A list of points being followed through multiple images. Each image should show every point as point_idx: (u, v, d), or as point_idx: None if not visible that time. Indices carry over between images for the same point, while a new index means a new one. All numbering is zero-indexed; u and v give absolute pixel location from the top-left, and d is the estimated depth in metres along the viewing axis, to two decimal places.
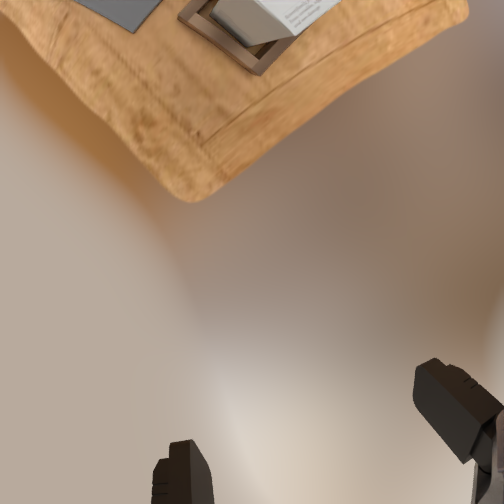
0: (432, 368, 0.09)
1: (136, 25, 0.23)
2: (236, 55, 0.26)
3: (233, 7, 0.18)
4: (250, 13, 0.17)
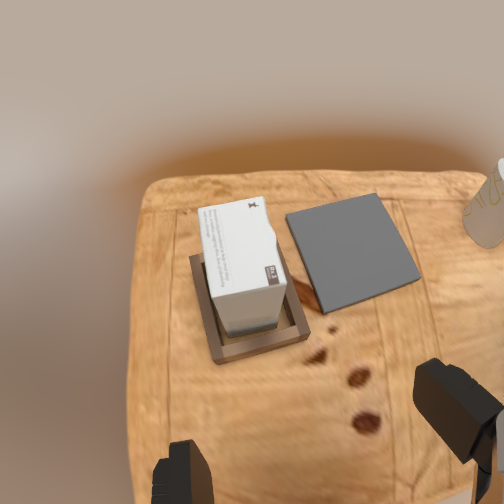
0: (432, 368, 0.09)
1: (289, 219, 0.41)
2: None
3: None
4: None
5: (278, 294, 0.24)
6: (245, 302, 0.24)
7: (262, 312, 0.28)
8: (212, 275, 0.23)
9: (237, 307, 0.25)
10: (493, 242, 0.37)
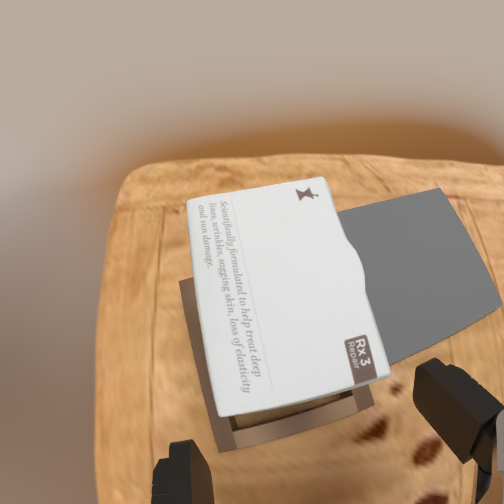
0: (432, 368, 0.09)
1: None
2: None
3: None
4: None
5: None
6: None
7: None
8: (220, 363, 0.09)
9: None
10: None
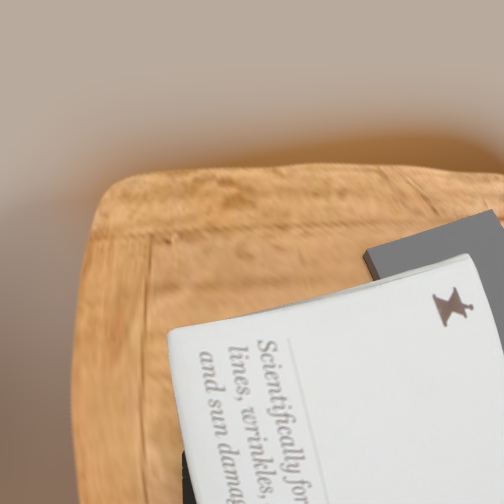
0: None
1: (374, 259, 0.20)
2: None
3: None
4: None
5: None
6: None
7: None
8: None
9: None
10: None
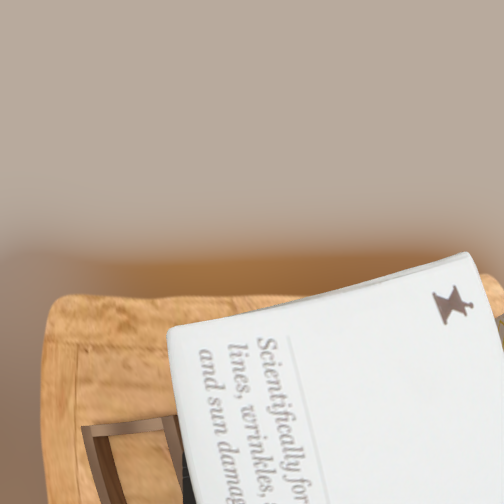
0: None
1: None
2: (106, 425, 0.25)
3: None
4: None
5: None
6: None
7: None
8: None
9: None
10: None
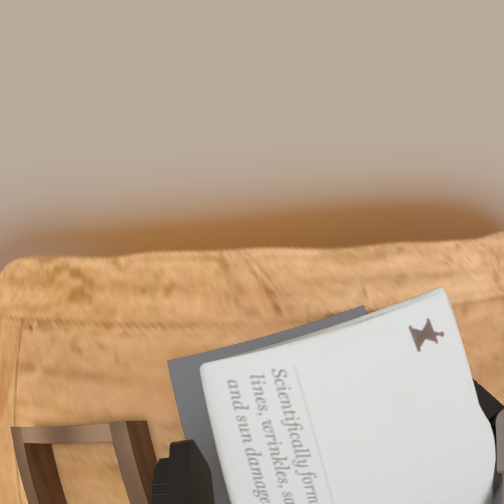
0: None
1: (172, 372, 0.19)
2: (39, 428, 0.15)
3: None
4: None
5: None
6: None
7: None
8: None
9: None
10: None
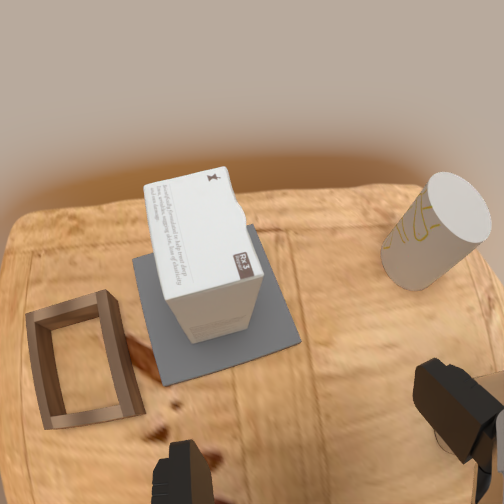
0: (432, 368, 0.09)
1: (134, 265, 0.33)
2: (47, 308, 0.27)
3: None
4: None
5: (252, 290, 0.19)
6: (209, 302, 0.18)
7: (231, 313, 0.22)
8: (164, 270, 0.17)
9: (200, 309, 0.19)
10: (422, 284, 0.32)
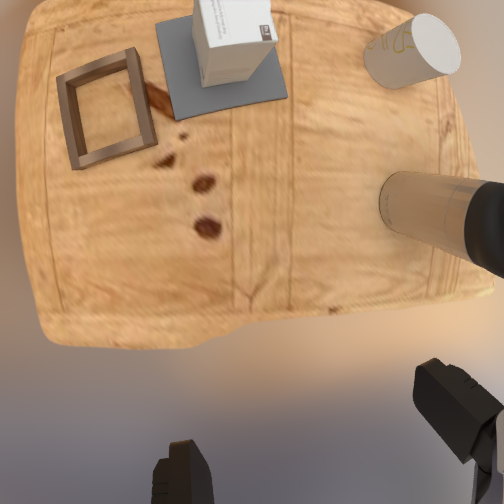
0: (432, 368, 0.09)
1: (157, 28, 0.30)
2: (78, 68, 0.28)
3: None
4: None
5: (266, 49, 0.22)
6: (235, 53, 0.22)
7: (244, 64, 0.26)
8: (210, 29, 0.19)
9: (227, 57, 0.23)
10: (392, 85, 0.36)
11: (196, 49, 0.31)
